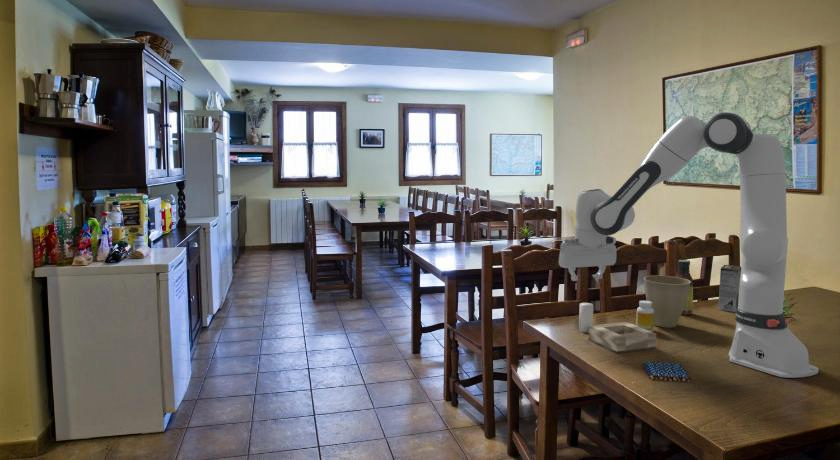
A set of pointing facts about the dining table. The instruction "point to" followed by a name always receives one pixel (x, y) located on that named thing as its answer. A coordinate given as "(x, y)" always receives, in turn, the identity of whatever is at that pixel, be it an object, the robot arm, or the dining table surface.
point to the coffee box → (729, 288)
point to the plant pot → (666, 298)
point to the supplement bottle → (645, 315)
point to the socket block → (622, 337)
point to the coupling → (585, 317)
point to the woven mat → (665, 371)
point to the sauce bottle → (685, 274)
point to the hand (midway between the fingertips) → (586, 279)
